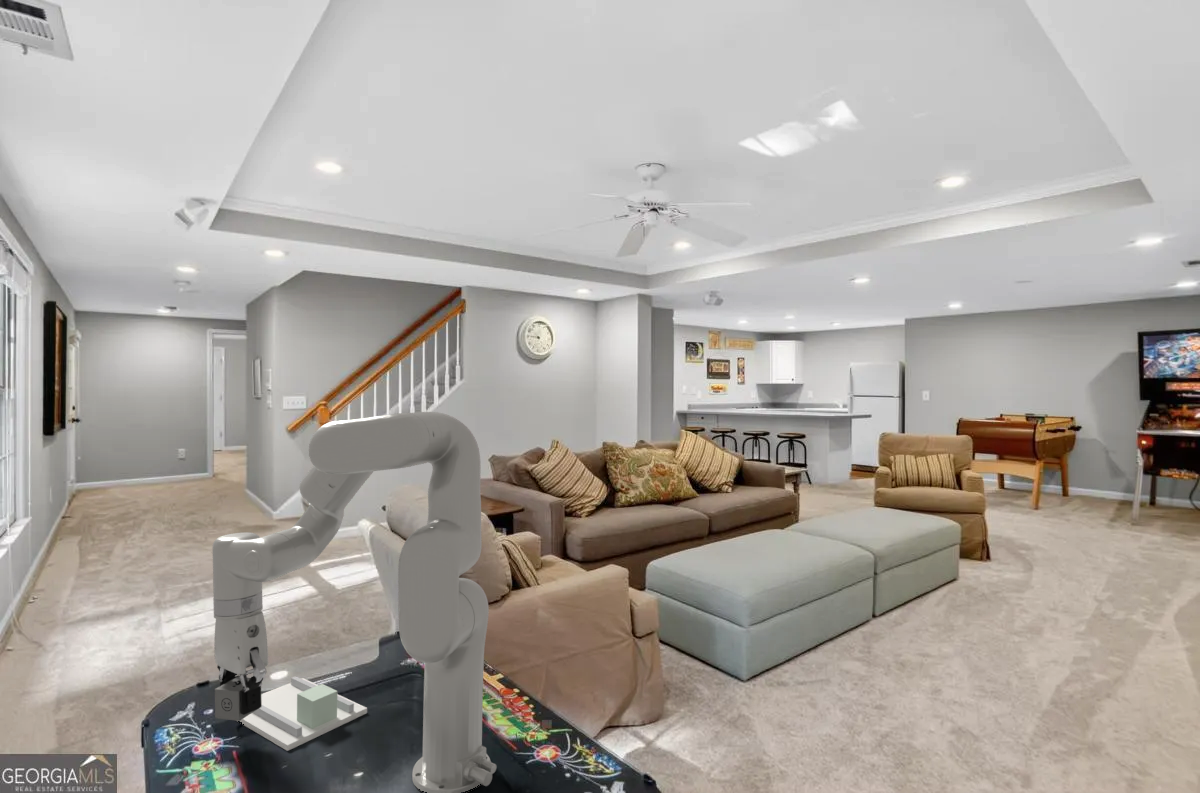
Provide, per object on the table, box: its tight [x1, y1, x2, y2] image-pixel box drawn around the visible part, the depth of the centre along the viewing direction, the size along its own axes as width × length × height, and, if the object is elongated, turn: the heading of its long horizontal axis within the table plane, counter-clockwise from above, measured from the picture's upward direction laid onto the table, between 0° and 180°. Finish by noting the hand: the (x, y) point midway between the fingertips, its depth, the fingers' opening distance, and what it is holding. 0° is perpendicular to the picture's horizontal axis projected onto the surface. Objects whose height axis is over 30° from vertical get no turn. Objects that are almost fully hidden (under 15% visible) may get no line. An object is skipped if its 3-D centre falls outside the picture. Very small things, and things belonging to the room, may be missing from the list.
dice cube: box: [214, 677, 262, 722], centre depth 110 cm, size 5×5×5 cm
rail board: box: [240, 676, 368, 752], centre depth 121 cm, size 22×16×6 cm
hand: (240, 705), depth 110 cm, fingers closed on dice cube, 6 cm apart
